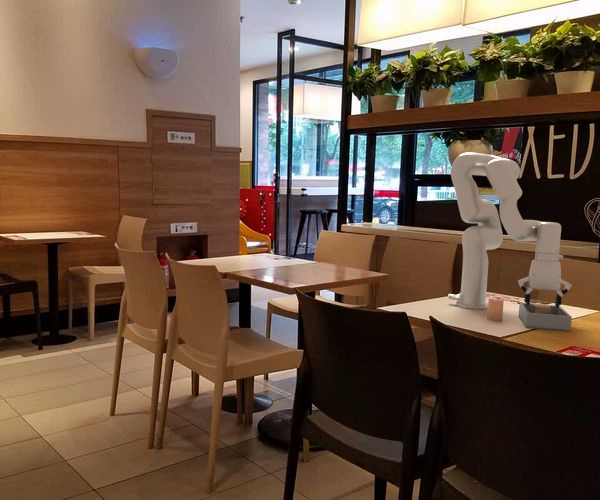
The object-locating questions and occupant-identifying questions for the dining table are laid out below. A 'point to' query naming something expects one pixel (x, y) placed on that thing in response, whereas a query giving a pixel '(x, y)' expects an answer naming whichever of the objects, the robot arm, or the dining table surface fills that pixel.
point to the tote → (545, 318)
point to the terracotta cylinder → (495, 309)
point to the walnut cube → (541, 309)
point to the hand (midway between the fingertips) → (542, 305)
